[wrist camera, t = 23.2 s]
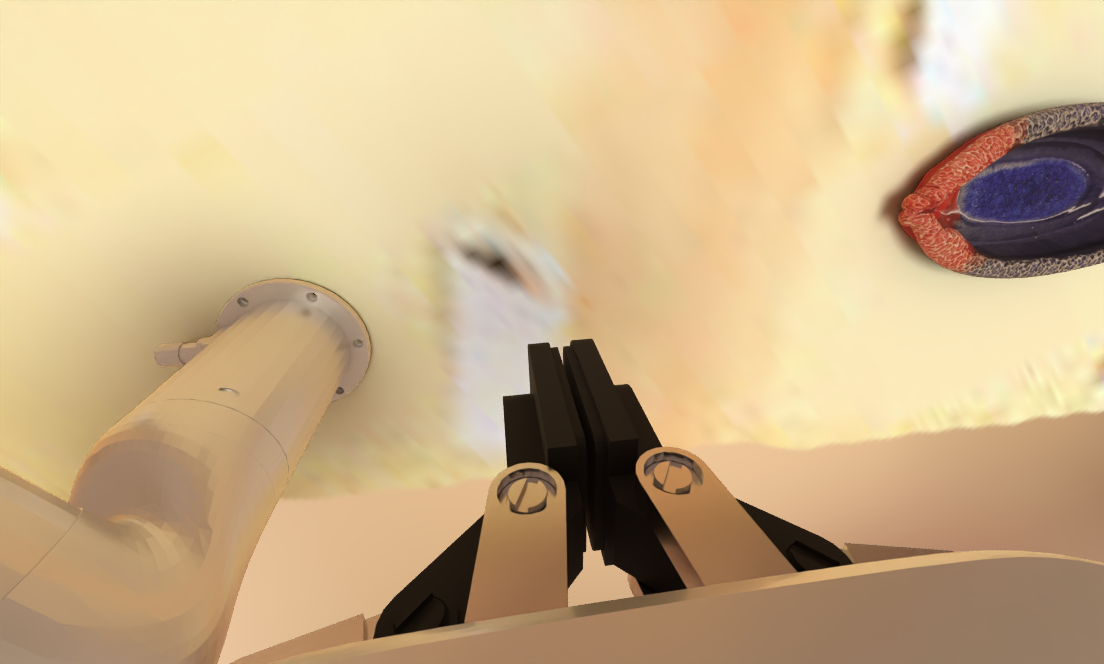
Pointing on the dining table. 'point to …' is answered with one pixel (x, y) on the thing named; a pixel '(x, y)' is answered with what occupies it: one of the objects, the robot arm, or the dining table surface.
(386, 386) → the dining table surface
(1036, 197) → the dish
